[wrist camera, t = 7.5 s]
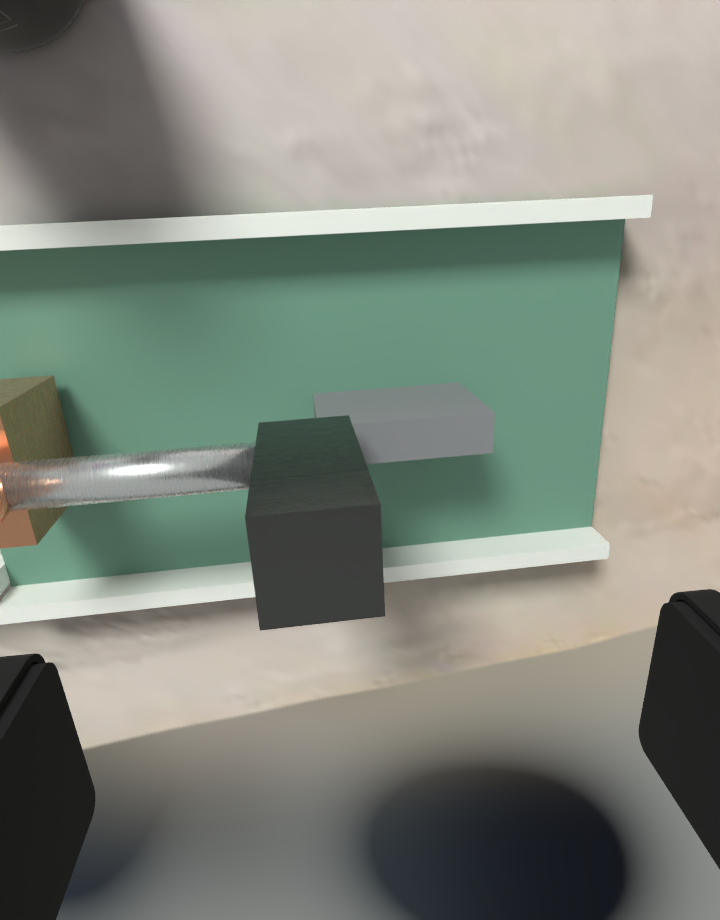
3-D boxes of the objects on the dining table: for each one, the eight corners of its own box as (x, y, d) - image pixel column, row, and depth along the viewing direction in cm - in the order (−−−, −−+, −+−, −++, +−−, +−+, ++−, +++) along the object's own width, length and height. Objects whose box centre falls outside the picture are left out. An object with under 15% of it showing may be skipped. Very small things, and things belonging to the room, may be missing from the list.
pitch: (614, 199, 25) (710, 188, 19) (580, 531, 31) (646, 596, 25) (-270, 241, 21) (-464, 242, 16) (-120, 603, 27) (-223, 697, 22)
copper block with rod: (334, 355, 24) (378, 462, 13) (341, 466, 26) (386, 649, 14) (-5, 379, 23) (-300, 523, 11) (27, 494, 25) (-198, 719, 13)
